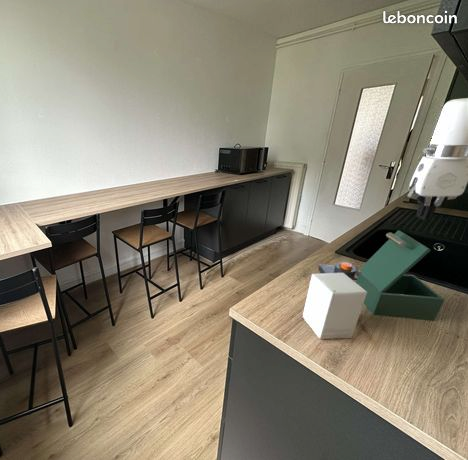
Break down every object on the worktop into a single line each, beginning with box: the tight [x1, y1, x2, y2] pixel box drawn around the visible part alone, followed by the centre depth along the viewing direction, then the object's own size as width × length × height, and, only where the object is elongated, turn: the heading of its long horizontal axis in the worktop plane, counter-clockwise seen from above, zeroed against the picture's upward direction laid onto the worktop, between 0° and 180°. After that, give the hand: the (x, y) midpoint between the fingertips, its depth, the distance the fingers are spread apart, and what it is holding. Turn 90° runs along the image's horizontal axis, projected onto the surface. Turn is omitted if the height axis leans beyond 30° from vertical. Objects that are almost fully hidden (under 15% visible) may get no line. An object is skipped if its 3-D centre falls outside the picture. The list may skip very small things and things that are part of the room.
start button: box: [340, 261, 353, 270], centre depth 90 cm, size 3×3×2 cm
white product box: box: [302, 273, 367, 340], centre depth 67 cm, size 9×9×15 cm
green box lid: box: [359, 229, 432, 293], centre depth 70 cm, size 15×12×5 cm
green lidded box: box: [355, 270, 445, 322], centre depth 74 cm, size 15×12×9 cm
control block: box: [317, 262, 358, 281], centre depth 91 cm, size 10×8×4 cm
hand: (423, 218), depth 72 cm, fingers closed
